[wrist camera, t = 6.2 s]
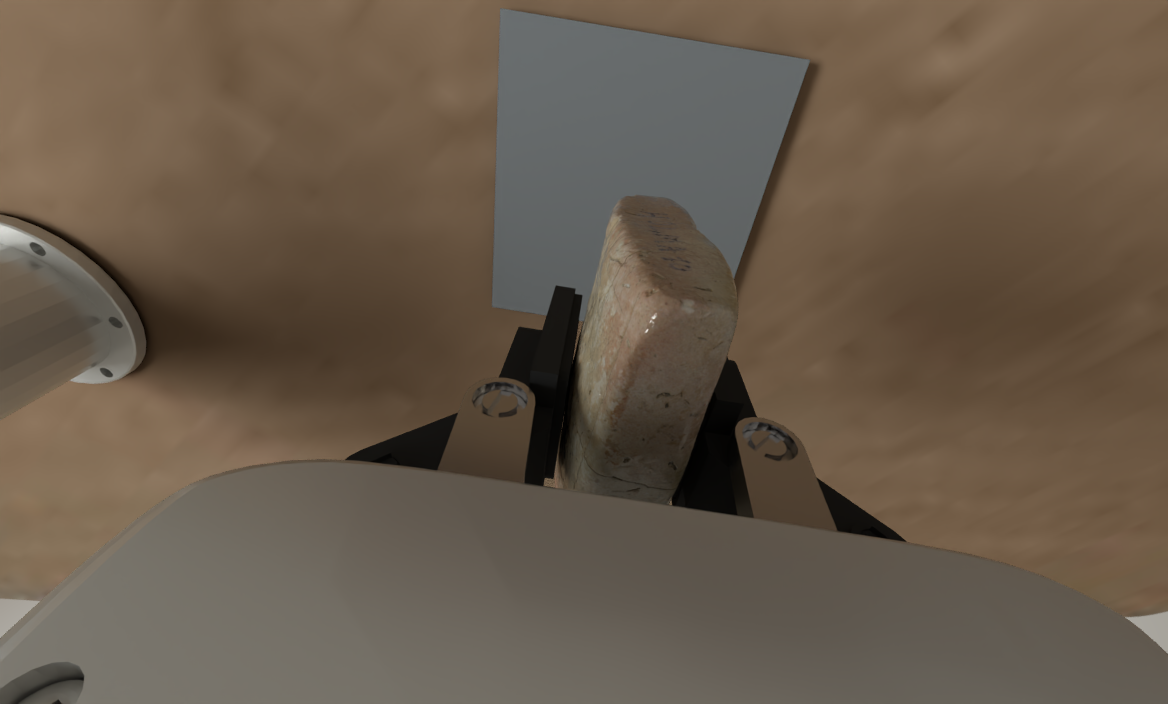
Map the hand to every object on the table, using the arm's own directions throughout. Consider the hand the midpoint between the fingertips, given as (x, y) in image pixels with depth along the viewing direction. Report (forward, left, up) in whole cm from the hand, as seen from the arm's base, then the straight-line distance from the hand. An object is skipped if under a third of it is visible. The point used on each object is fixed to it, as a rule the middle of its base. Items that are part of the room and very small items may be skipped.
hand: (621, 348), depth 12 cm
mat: (0, 0, -15) cm, 15 cm away
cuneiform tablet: (+1, -2, -1) cm, 2 cm away
